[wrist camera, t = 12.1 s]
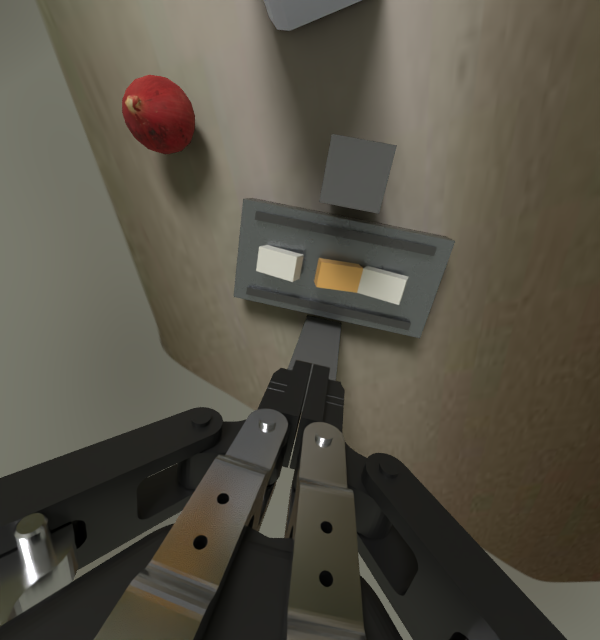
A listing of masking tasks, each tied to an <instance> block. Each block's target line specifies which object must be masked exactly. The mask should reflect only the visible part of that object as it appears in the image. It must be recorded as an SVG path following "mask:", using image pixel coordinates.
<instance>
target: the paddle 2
mask: <svg viewBox="0 0 600 640" xmlns="http://www.w3.org/2000/svg"><path fill="white" fill-rule="evenodd" d="M407 280H408V276H404V275H400V274H396V273H393V272H389V271H385V270H381V269H378V268H374V267H370V266H366V267H365V268H363V272H362V276H361V280H360V283H359V287H358V291H357V293H360V294H363V295H366V296H370V297H373V298H377V299H380V300H383V301H387V302H390V303H394V304H397V305H399V304H400V302H401V299H402V296H403V293H404V290H405V287H406V284H407Z"/></svg>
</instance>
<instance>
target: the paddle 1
mask: <svg viewBox="0 0 600 640" xmlns="http://www.w3.org/2000/svg"><path fill="white" fill-rule="evenodd" d="M303 257H304V255H303V254H299V253H295V252H292V251H288V250H284V249H281V248H277V247H273V246H270V245H264V246H259V252H258V260H257V268H256V271H258V272H261V273H265V274H268V275H271V276H274V277H278V278H281V279H284V280H288V281H291V282H294V281H296V280H298V279H300V273H301V268H302V262H303Z"/></svg>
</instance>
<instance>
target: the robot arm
mask: <svg viewBox="0 0 600 640" xmlns="http://www.w3.org/2000/svg"><path fill="white" fill-rule="evenodd" d="M311 367H312V363H309V362H304V361H300V360H296V361H295V363H294V366H293V369H292V370H288V369H284V368H280V369H279V370H278V371H276V372H275V373H274V374H273V376H272V378H271V380H270V383H269V385H268V387H267V389H266V392H265V394H264V396H263V398H262V401H261V403H260V405H259V407H258V410H256V411H254V412H252V413H251V414H250V415H249V416H248V418H247V419H246V420H243V421H238V422H223V420H222V416H221V415H220V414H219V413H218V412H217V411H215V410H213V409H210V408H204V407H200V408H193V409H190V410H188V411H185V412H182V413H179V414H176V415H174V416H171V417H168V418H165V419H163V420H160V421H157V422H154V423H151V424H149V425H146V426H143V427H140V428H138V429H135V430H132V431H129V432H127V433H124V434H121V435H118V436H115V437H113V438H110V439H107V440H105V441H102V442H99V443H96V444H93V445H90V446H88V447H85V448H82V449H79V450H77V451H74V452H71V453H68V454H66V455H63V456H60V457H57V458H54V459H52V460H49V461H46V462H44V463H41V464H38V465H35V466H33V467H30V468H27V469H24V470H22V471H19V472H16V473H13V474H11V475H7V476H5V477H2V478H0V640H403V639H402V637H401V636H400V634H399V632H398V630H397V629H396V627H395V625H394V624H393V622H392V620H391V618H390V617H389V615H388V613H387V611H386V610H385V608H384V606H383V604H382V603H381V601H380V599H379V598H378V596H377V595H376V593H375V592H374V591H373V589H372V588H371V587H370V585H369V584H368V583H367V582H366V581H365V580H364V578H362V577H361V576H360V572H359V559H358V552H359V554H360V556H361V557H362V559H363V560H364V562H365V563H366V565H367V567H368V568H369V570H370V571H371V573H372V575H373V576H374V578H375V579H376V581H377V583H378V584H379V586H380V587H381V589H382V591H383V592H384V594H385V595H386V597H387V599H388V600H389V602H390V603H391V605H392V607H393V608H394V610H395V611H396V613H397V614H398V616H399V618H400V619H401V621H402V623H403V624H404V626H405V627H406V629H407V630H408V632H409V634H410V635H411V637H412V639H413V640H567V639H566V638H565V637H564V636H563V635H562V633H561V632H560V631H559V630H558V629H557V628H556V627H555V626H554V625H553V624H552V623H551V622H550V621H549V620H548V619H547V617H546V616H545V615H544V614H543V613H542V612H541V611H540V610H539V609H538V608H537V607H536V606H535V605H534V603H533V602H532V601H531V600H530V599H529V598H528V597H527V596H526V595H525V594H524V593H523V592H522V591H521V590H520V588H519V587H518V586H517V585H516V584H515V583H514V582H513V581H512V580H511V579H510V578H509V577H508V576H507V574H505V572H504V571H503V570H502V569H501V568H500V567H499V566H498V565H497V564H496V563H495V562H494V561H493V559H491V557H490V556H489V555H488V554H487V553H486V552H485V551H484V550H483V549H482V548H481V547H480V546H479V544H478V543H477V542H476V541H475V540H474V539H473V538H472V537H471V536H470V535H469V534H468V533H467V532H466V531H465V529H464V528H463V527H462V526H461V525H460V524H459V523H458V522H457V521H456V520H455V519H454V518H453V517H452V516H451V514H450V513H449V512H448V511H447V510H446V509H445V508H444V507H443V506H442V505H441V504H440V503H439V502H438V501H437V499H436V498H435V497H434V496H433V495H432V494H431V493H430V492H429V491H428V490H427V489H426V488H425V487H424V486H423V484H422V483H421V482H420V481H419V480H418V479H417V478H416V477H415V476H414V475H413V474H412V473H411V472H410V470H409V469H408V468H407V467H406V466H405V465H404V464H403V463H402V462H401V461H399V460H398V459H397V458H395V457H393V456H391V455H388V454H384V453H375V454H372V455H370V456H369V457H368V458H366V457H364V456H362V455H360V454H358V453H357V452H355V451H354V450H352V449H351V448H350V447H349V446H348V445H347V444H346V442H345V440H344V436H343V434H342V424H343V406H344V388H343V387H342V385H341V383H340V382H338V381H334V380H330V379H329V373H330V367H326V366H321V365H317V364H314V365H313V369H312V373H311V377H310V381H309V376H310V372H311ZM308 381H309V386H308V390H307V385H308ZM306 390H307V394H306ZM305 394H306V398H305ZM304 399H305V402H304ZM303 403H304V406H303ZM302 407H303V410H302ZM301 411H302V415H301ZM300 416H301V419H300ZM299 420H300V423H299ZM298 424H299V428H298ZM297 428H298V432H297ZM296 432H297V437H296V442H295V446H294V451H293V455H292V460H291V464H290V468H291V469H295V471H294V476H293V481H292V485H291V489H290V496H289V504H288V512H287V519H286V527H285V535H284V538H269V537H266V536H264V535H263V534H261V533H259V530H260V527H261V524H262V522H263V519H264V516H265V513H266V511H267V508H268V505H269V503H270V500H271V497H272V494H273V492H274V489H275V486H276V482H277V479H278V478H279V476H280V472H281V468H282V466H283V467H288V465H289V460H290V456H291V452H292V448H293V444H294V440H295V436H296ZM176 463H177V464H176ZM174 464H175V465H174ZM172 465H173V466H172ZM170 466H171V467H170ZM168 467H169V468H168ZM166 468H167V469H166ZM163 469H165V470H163ZM161 470H163V471H161ZM159 471H160V472H159ZM157 472H158V473H157ZM155 473H156V474H155ZM153 474H154V475H153ZM151 475H152V476H151ZM149 476H150V477H149ZM147 477H148V478H147ZM180 511H182V512H181V514H180V515H179V517H178V518H177V520H176V522H175V523H174V524H171V525H168V526H165V527H163V528H161V529H158V530H156V531H154V532H153V533H151V534H149V535H147V536H146V537H144V538H143V539H141V540H139V541H138V542H136V543H134V544H133V545H131V546H129V547H128V548H126V549H125V550H123V551H121V552H120V553H118V554H116V555H115V556H113V557H112V558H110V559H109V560H107V561H105V562H104V563H102V564H100V565H99V566H97V567H95V568H94V569H92V570H91V571H89V572H87V573H86V574H84V575H82V576H81V577H79V578H78V579H76V580H74V581H73V579H74V577H75V575H76V573H77V570H78V569H80V568H82V567H84V566H86V565H88V564H89V563H91V562H93V561H95V560H96V559H98V558H100V557H101V556H103V555H105V554H107V553H109V552H110V551H112V550H114V549H115V548H117V547H119V546H121V545H122V544H124V543H126V542H128V541H129V540H131V539H133V538H135V537H136V536H138V535H140V534H142V533H143V532H145V531H147V530H149V529H151V528H152V527H154V526H156V525H158V524H159V523H161V522H163V521H165V520H166V519H168V518H170V517H172V516H173V515H175V514H177V513H179V512H180ZM72 581H73V582H72Z"/></svg>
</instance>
